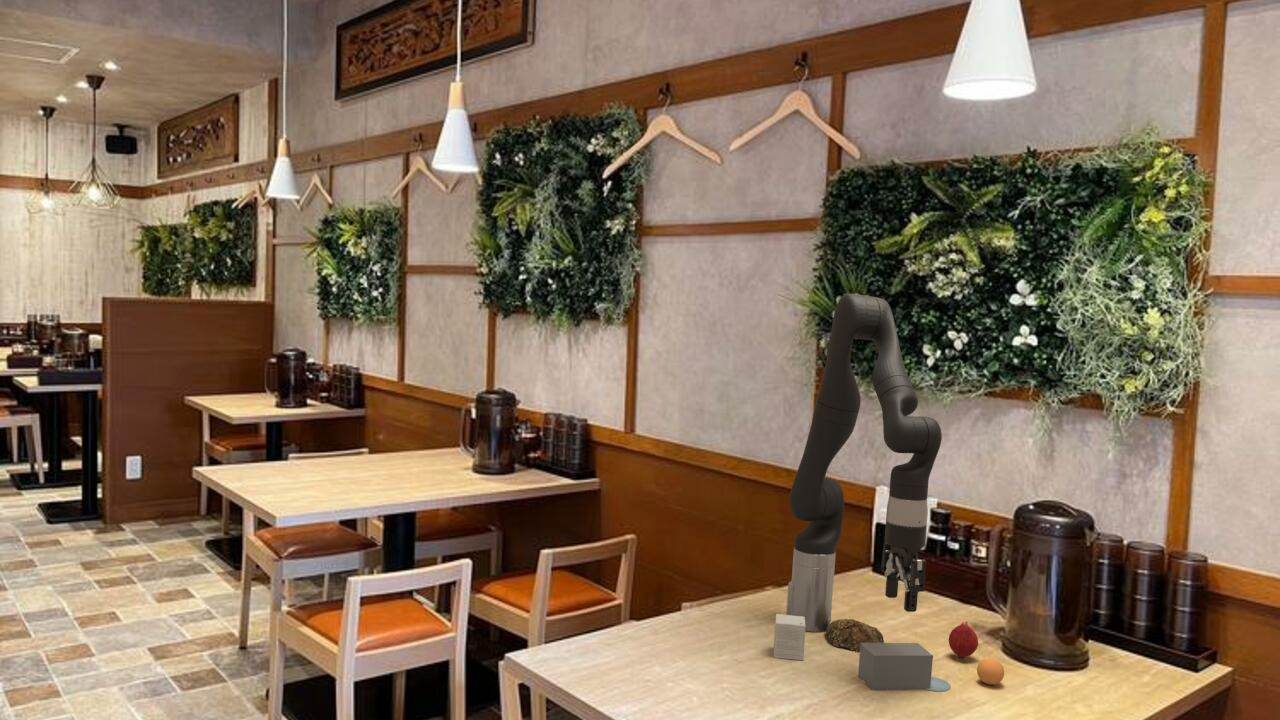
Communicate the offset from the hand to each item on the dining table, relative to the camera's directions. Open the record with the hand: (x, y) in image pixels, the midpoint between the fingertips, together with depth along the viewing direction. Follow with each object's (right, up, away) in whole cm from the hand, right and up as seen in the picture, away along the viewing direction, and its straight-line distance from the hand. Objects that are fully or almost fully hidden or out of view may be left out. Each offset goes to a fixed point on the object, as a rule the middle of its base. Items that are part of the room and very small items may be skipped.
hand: (900, 604), depth 183 cm
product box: (-19, -14, +13) cm, 27 cm away
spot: (+6, -16, +1) cm, 17 cm away
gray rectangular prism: (-1, -15, +1) cm, 15 cm away
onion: (+17, -16, +16) cm, 28 cm away
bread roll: (-4, -14, +23) cm, 27 cm away
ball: (+18, -14, +3) cm, 23 cm away
